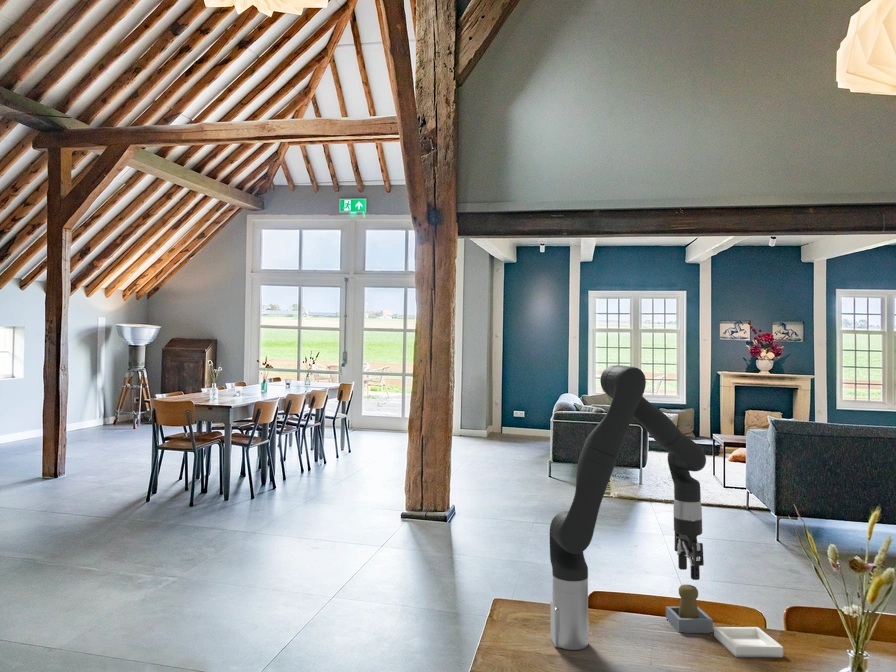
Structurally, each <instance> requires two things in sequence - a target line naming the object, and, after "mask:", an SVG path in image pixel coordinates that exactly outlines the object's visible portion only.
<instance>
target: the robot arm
mask: <svg viewBox="0 0 896 672" xmlns="http://www.w3.org/2000/svg"><path fill="white" fill-rule="evenodd" d="M599 381H600V386H601V389H602V390H603V392H604V393H605V394H606V395H607V396H608V397H610V398H611V399H612V400H611V402H610V405H609V408H608V410H607V412H606V414H605V415H604V417H603V419H602V420H601V421H600V422H599V423H598V424H597V425H596V426H595V427H594V428H593V429H592V430H591V432H590V433H589V434H588V435H587V438H586V439H585V441H584V444H583V445H582V450H581V451H580V455H579V457H578V461H577V467H576V478H575V479H576V480H575V491H574V496H573V500H572V502H571V505H570V507H569V510H568V511H567V510H566V511H560V512H558V513H557V514H555V515H554V516H553V518H552V520H551V523H550V526H549V560H550V564H551V568H552V571H551V572H552V577H551V579H552V585H551V586H552V587H551V588H552V598H551V599H552V600H551V601H550V639H551V641H552V644H553V646H554V647H555V648H560V649H563V650H568V651H569V650H570V651H578V650H583V649H586V648H587V646H589V567H588V564H587V562H586V558H585V555H584V551H586V550H587V549H588V547H589V546H590V544H591V543H592V540H593V537H594V532H595V528H596V524H597V521H598V520H597V519H598V515H599V512H600V509H601V504H602V501H603V498H604V496H605V494H606V491H607V487H608V485H609V483H610V479H611V477H612V474H613V471H614V469H615V465H616V463H617V460H618V457H619V454H620V450H621V447H622V445H623V443H624V440H625V437H626V434H627V431H628V428H629V426H630V425H631V424H630V423H631V421H632V419H633V418H634V419H635V420H636V421H637V423H639V425H641V426H642V427H643V428H644V429H645V430H646V432H647V433H648V434H649V435H650V436H651V438H652V439H653V440H654V441H655V442H656V443H657V444H658V446H660V447H661V448H662V449H663V450H664V451H667V452H668V453H667V464H668V468H669V472H670V475H671V479H672V482H673V495H674V496H673V497H674V498H673V499H674V500H673V531H674V551H675V552H676V555H677V556H678V557H677V561H678V565H677V566H678V569H679V570H685V571H686V570H687V569H688V560H689V563H690V567H689V568H690V579H691V580H693V581H699V580H700V571H701V570H700V567H702V566H704V564H705V563H704V547H703V546H704V544H703V542H699V541H698V538H697V537H698V536H701V535H702V534H703V511H702V509H703V508H702V501H701V496H702V494H701V483H700V481H699V480H697V479H695V478H694V477H692V476H691V473H690V472H700V471H701V470H703V469H704V468H705V466H706V464H707V456H706V454H705V451H704V450H703V448H702V447H701V446H700V445H699V444H697V443H696V442H695V441H694V440H692V439H691V438H690V437H689V436H687V435H686V434H684V433H683V432H682V431H681V430H680V428H679V427H678V426H677V425H676V424H675V423H674V422H673V421H672V420H671V418H669V417H668V416H667V414H665V413H664V412H663V411H662V410H660V409H659V408H658V407H656V406H655V405H654V404H652V403H651V402H650V401H648V400H647V399H646V398H645V397H644V393H645V389H646V387H647V379H646V376H645V373H644V372H643V371H642V370H641V369H640V368H638V367H635V366H628V365H623V364H622V365H620V364H616V365H615V364H614V365H610V366H607V367H606V368H605V369H603V371H602V372H601V375H600V380H599Z"/></svg>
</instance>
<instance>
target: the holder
mask: <svg viewBox="0 0 896 672" xmlns="http://www.w3.org/2000/svg"><path fill="white" fill-rule="evenodd" d="M679 607H680V606H679V605H678V606H677V605H676V606H674V605H673V606H671V605H670V606H667V605H666V606H665V619H666V618H668V620H669V622H670V623H671V624H672V625H673V626H674V627H675V628H674V627H673V626H672V625H671V624H670V623H669V622H668V623H669V624H670V625H671V626H672V627H673V628H674V629H675V630H676V631H677V633H679V632H684V633H683V634H693V633H694V634H698V633H699V634H702V633H703V634H711V633H710V632H713V633H714V622H713V621H714V620H713V618H712V617H710V616H709V615H708V614H707V613H706V612H705V611H704V610H703V609H702V608H700V607H699V606H697V608H698V615H699V618H680V617H679V616H678V615H679Z"/></svg>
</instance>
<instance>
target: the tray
mask: <svg viewBox="0 0 896 672" xmlns="http://www.w3.org/2000/svg"><path fill="white" fill-rule="evenodd" d="M713 637H714V638H715V639H716V640H717V641H718V642H719V643H720V644H721V645H722V646H723V647H724V648H725V649H726V650H728V652H730V653H731V654H732V655H733V656H734V657H735V658H784V647H783V646H782V645H781V644H780V643H779V642H778V641H776V640H775V639H774V638H772V637H771V636H770V635H769V634H767V633H766V632H765V631H763V630H762V629H761V628H760V627H758V626H713Z"/></svg>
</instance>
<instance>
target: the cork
mask: <svg viewBox="0 0 896 672" xmlns="http://www.w3.org/2000/svg"><path fill="white" fill-rule="evenodd" d="M678 595H679V597H680V600H679V606H678V607H679V615H678V616H679V617H680V618H699V615H698V608H697V607H698V602H697V599H698V597H699V590H698V588H697V587H696V586H694V585H692V584H681V585H680V586H679V587H678Z"/></svg>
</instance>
